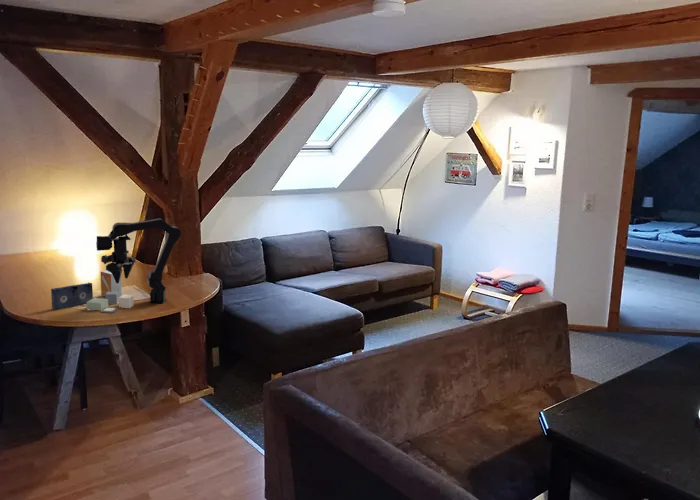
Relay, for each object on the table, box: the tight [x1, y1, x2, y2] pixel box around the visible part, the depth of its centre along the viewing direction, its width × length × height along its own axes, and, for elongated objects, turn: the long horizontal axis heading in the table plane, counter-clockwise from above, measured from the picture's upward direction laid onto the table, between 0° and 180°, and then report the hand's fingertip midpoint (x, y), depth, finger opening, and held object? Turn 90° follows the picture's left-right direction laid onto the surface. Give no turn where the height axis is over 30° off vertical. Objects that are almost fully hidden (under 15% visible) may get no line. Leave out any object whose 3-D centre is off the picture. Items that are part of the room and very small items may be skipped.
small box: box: [100, 269, 123, 298], centre depth 280 cm, size 8×6×13 cm
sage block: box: [85, 297, 109, 311], centre depth 261 cm, size 7×7×4 cm
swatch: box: [99, 307, 119, 314], centre depth 258 cm, size 6×6×1 cm
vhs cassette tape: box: [50, 282, 94, 311], centre depth 262 cm, size 18×3×10 cm, turn 139°
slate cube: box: [105, 292, 119, 305], centre depth 270 cm, size 5×5×5 cm
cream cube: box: [118, 294, 135, 309], centre depth 266 cm, size 5×5×5 cm
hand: (122, 280), depth 266 cm, fingers open, 9 cm apart
